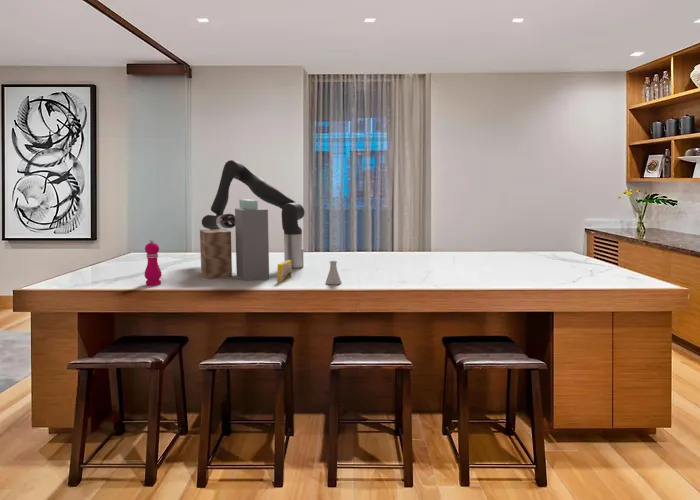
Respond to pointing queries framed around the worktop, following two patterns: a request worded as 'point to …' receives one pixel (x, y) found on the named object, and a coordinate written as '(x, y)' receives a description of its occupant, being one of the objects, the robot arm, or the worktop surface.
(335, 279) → the flask
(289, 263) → the candy box
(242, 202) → the slim carton
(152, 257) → the pepper mill
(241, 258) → the tall podium
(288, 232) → the robot arm
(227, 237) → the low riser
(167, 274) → the worktop surface
